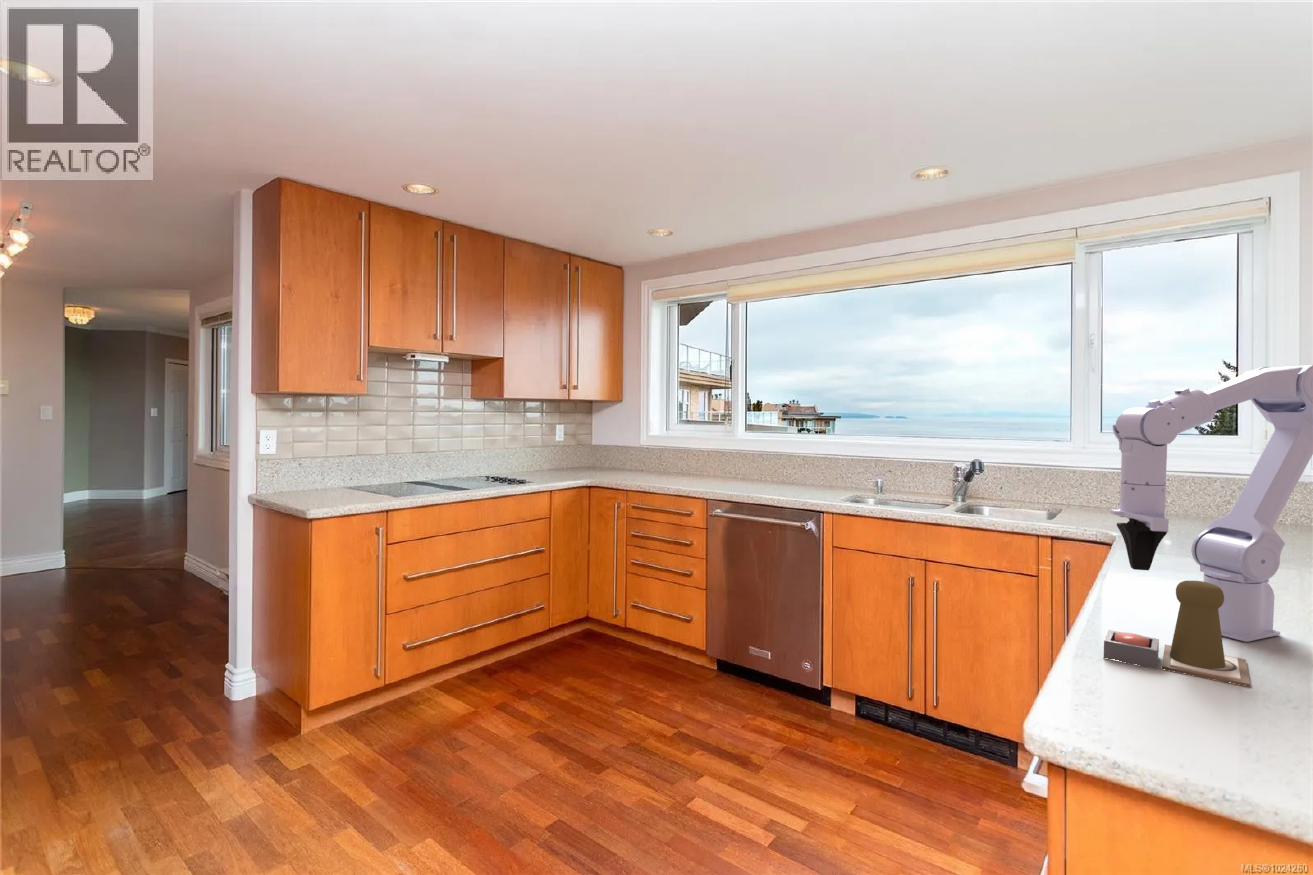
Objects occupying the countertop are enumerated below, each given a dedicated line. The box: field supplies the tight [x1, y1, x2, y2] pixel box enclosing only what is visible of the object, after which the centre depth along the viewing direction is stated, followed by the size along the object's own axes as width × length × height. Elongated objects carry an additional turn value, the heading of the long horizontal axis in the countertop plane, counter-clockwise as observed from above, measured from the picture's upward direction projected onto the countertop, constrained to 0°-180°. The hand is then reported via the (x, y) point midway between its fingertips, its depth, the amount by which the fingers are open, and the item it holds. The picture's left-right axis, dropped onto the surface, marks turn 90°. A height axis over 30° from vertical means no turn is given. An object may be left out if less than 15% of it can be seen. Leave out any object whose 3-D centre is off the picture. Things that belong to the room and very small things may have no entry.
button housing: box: [1103, 629, 1160, 670], centre depth 94 cm, size 6×6×3 cm
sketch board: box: [1161, 644, 1251, 688], centre depth 91 cm, size 11×9×1 cm
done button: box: [1115, 631, 1149, 648], centre depth 93 cm, size 4×4×2 cm
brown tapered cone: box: [1170, 580, 1226, 669], centre depth 91 cm, size 6×6×11 cm
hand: (1139, 569), depth 103 cm, fingers closed
